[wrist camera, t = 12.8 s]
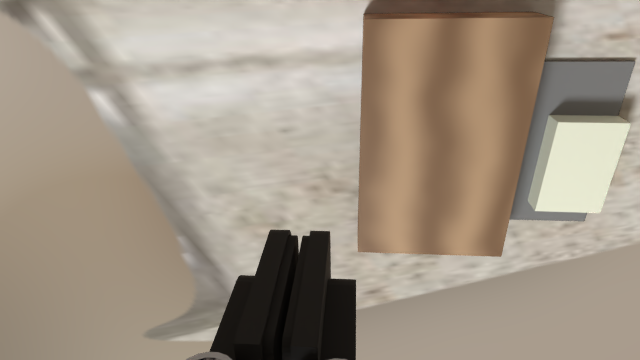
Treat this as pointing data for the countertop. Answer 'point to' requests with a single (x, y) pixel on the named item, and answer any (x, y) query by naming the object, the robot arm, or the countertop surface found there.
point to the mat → (568, 99)
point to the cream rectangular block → (577, 162)
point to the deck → (445, 127)
